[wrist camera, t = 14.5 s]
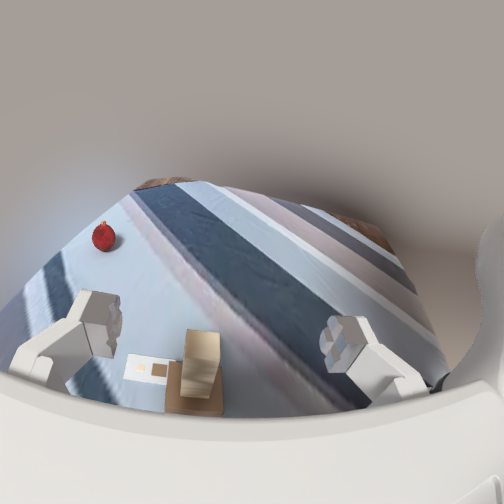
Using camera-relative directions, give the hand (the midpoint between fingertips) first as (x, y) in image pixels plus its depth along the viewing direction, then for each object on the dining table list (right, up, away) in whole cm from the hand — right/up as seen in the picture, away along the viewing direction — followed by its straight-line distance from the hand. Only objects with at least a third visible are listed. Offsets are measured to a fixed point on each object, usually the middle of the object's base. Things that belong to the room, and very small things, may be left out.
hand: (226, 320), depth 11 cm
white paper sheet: (-15, -16, +30) cm, 37 cm away
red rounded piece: (-35, +3, +53) cm, 63 cm away
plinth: (-8, -19, +28) cm, 35 cm away
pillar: (-7, -16, +27) cm, 32 cm away
